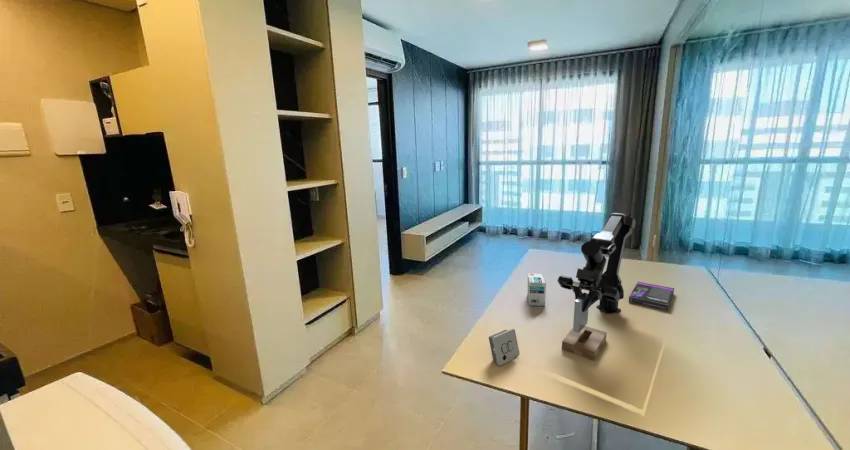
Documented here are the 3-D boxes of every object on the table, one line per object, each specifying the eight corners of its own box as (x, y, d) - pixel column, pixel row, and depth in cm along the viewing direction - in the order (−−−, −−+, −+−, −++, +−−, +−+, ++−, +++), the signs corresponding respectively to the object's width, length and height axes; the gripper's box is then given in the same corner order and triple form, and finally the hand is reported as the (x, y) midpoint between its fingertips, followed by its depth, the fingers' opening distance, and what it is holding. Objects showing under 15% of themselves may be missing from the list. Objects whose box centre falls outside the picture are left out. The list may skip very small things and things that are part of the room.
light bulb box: (545, 306, 142) (546, 283, 139) (529, 305, 143) (529, 282, 141) (542, 295, 152) (543, 273, 149) (526, 294, 153) (527, 272, 151)
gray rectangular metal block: (581, 321, 117) (583, 292, 114) (587, 323, 115) (589, 293, 113) (572, 331, 111) (574, 300, 108) (578, 333, 110) (580, 302, 107)
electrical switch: (499, 367, 105) (497, 340, 104) (488, 360, 110) (486, 333, 108) (520, 356, 110) (518, 330, 109) (509, 350, 114) (507, 325, 113)
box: (637, 288, 156) (627, 303, 142) (637, 281, 156) (628, 295, 142) (673, 295, 147) (667, 312, 133) (674, 288, 147) (668, 304, 132)
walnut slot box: (575, 333, 122) (576, 323, 121) (605, 342, 115) (606, 332, 114) (561, 351, 111) (562, 341, 110) (593, 363, 105) (594, 352, 104)
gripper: (560, 253, 117) (545, 293, 112) (620, 264, 104) (606, 310, 99) (568, 267, 124) (554, 305, 119) (625, 280, 111) (612, 323, 106)
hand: (579, 310), depth 111 cm, fingers closed on gray rectangular metal block, 2 cm apart
